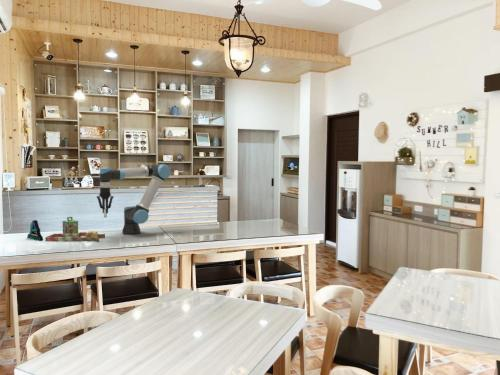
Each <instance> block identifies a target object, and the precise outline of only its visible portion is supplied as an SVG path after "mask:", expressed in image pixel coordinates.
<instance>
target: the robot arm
mask: <svg viewBox="0 0 500 375" xmlns="http://www.w3.org/2000/svg"><path fill="white" fill-rule="evenodd" d="M170 175H171V169H170V167H169V166H168V165H167V164H163V163H162V164H158V163H157V164H156V163H155V164H149V165H143V166H140V167H128V168H127V167H126V168H112V169H111V168H110V167H100V168H99V187H100V188H99V195H97V196H96V199H97V201H98V205H99V208H100V209H101V210H102V214H103V218H108V214H109V209H110V208H111V207H112V202H113V199H114V198H115V197H114V196H115V195H112V194H111V181H112V180H120V181H121V180H124V179H126V178H133V177H134V178H135V177H146V178H147V177H148V178H149V177H150V178H151V180H150V182H149V184H148V185H147V187H146V189H145V192H144V193H143V195H142V197H141V200H139V201H140V202H138V203H137V204H136V205H134V206H125V207H124V208H123V218H124V221H123V222H124V225H123V227H122V229H121V230H122V232H121V234H122V235H139V234H141V233H142V231H141V228H140V224H141V225H142V224H144V223H146V222H147V221H148V220H149V217H150V216H149V212H150V206H151V204H152V202H153V200H154V198H155V196H156V194H157V192H158V190H159V188H160V186H161V185H162V183H165V180H166V179H168V178H169V177H170Z"/></svg>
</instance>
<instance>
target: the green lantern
mask: <svg viewBox="0 0 500 375" xmlns="http://www.w3.org/2000/svg"><path fill="white" fill-rule="evenodd" d="M77 233H79V221H78V220H74V219H73V216H67V217H66V220H63V221H62V234H77Z"/></svg>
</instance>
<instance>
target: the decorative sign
mask: <svg viewBox="0 0 500 375" xmlns="http://www.w3.org/2000/svg"><path fill="white" fill-rule="evenodd" d="M29 229H30V230H29V233H28V234H27V236H26V237H27V238H26V239H29V240H30V239H31V240H35V241H39V242H41V241H44V238H43V235H42V234H41V228H40V227H39V222H38V220H36V219H35V220H32V221H31V223H30V226H29Z"/></svg>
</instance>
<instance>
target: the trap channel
mask: <svg viewBox="0 0 500 375" xmlns="http://www.w3.org/2000/svg"><path fill="white" fill-rule="evenodd" d="M87 232H88V231H84V232H83V231H80V232H79V231H78V233H77V234H63V233H52V234H49V235H47V236H45V242H78V243H79V242H80V243H81V242H82V241H83V242H84V241H97V243H99V242H100V239H105V238H106V234H105V233H98V237H86V233H87Z"/></svg>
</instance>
